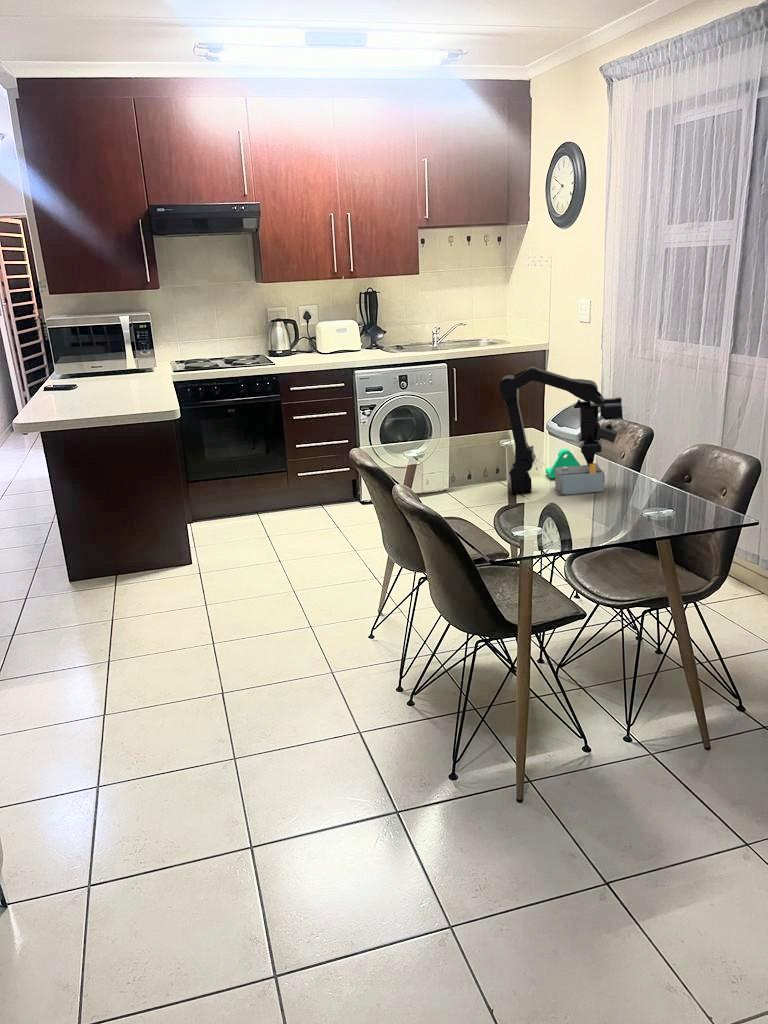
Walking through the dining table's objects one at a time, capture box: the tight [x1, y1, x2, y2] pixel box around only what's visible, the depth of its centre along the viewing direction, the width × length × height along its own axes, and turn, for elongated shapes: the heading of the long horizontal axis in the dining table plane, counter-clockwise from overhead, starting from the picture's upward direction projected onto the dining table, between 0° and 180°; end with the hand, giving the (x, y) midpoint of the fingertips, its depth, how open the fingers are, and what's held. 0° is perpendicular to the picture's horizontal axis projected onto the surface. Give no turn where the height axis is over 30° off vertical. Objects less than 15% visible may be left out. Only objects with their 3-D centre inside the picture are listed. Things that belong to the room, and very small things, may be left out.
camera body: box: [554, 463, 606, 493], centre depth 250 cm, size 15×8×8 cm, turn 86°
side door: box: [558, 462, 605, 496], centre depth 245 cm, size 14×1×10 cm, turn 86°
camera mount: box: [545, 448, 581, 479], centre depth 265 cm, size 12×8×10 cm, turn 91°
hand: (590, 466), depth 247 cm, fingers closed
